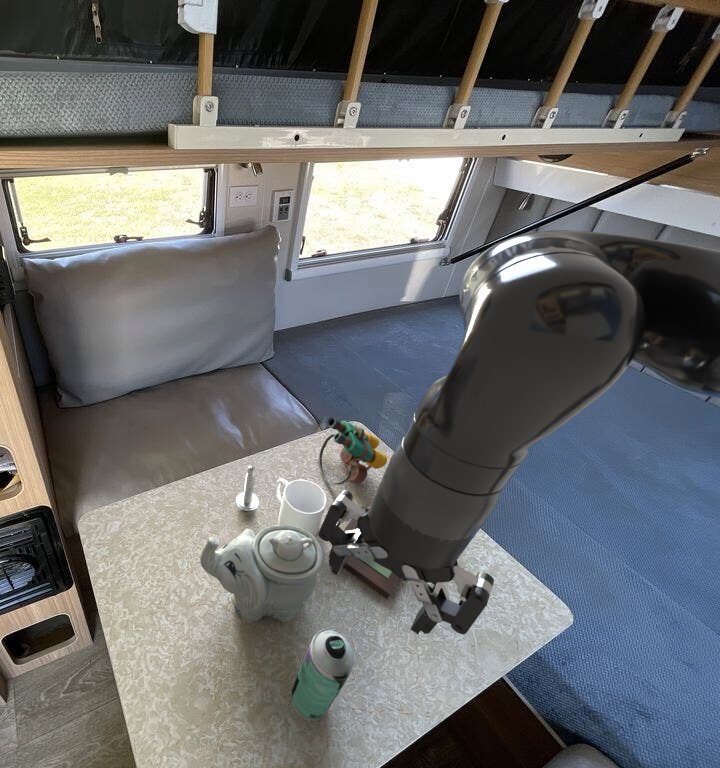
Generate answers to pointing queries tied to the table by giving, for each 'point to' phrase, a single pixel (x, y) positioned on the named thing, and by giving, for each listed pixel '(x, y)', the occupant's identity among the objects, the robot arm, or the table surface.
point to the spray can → (322, 674)
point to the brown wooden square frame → (370, 569)
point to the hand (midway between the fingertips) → (375, 595)
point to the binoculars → (354, 450)
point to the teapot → (266, 570)
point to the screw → (248, 493)
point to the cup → (301, 504)
